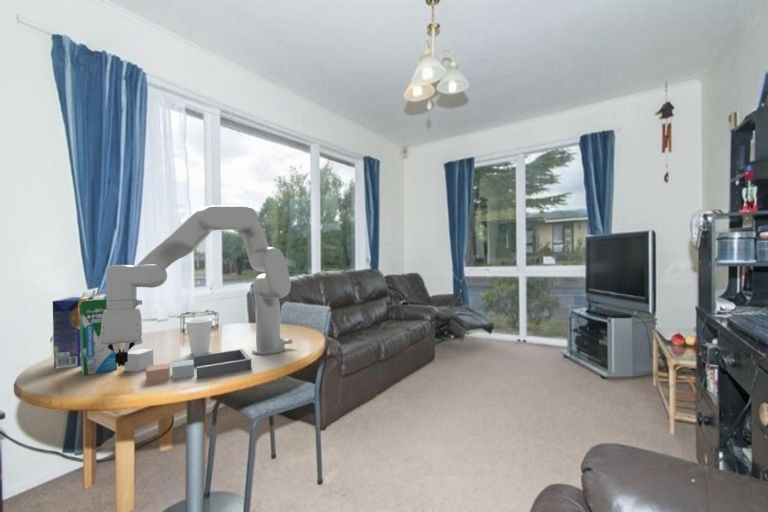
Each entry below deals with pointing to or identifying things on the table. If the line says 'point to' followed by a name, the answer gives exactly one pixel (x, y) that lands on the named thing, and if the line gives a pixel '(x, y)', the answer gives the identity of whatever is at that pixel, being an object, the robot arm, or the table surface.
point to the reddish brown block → (158, 373)
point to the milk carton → (94, 339)
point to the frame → (221, 367)
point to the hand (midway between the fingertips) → (121, 364)
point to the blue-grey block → (183, 369)
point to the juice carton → (67, 331)
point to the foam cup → (199, 335)
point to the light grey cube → (139, 360)
